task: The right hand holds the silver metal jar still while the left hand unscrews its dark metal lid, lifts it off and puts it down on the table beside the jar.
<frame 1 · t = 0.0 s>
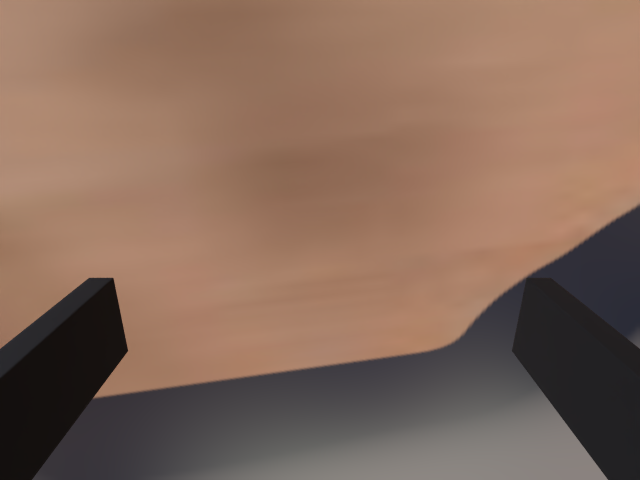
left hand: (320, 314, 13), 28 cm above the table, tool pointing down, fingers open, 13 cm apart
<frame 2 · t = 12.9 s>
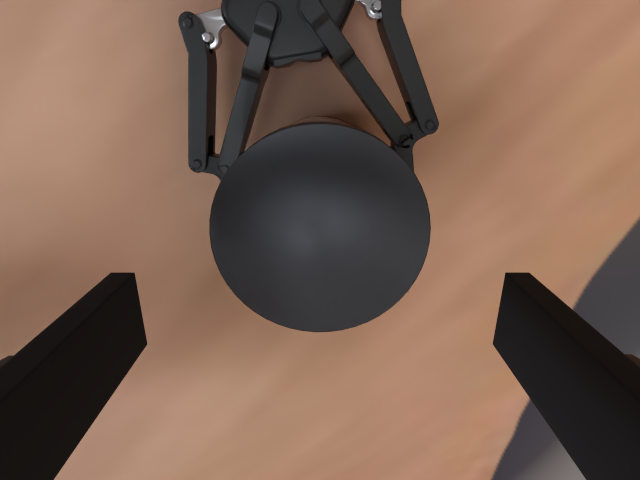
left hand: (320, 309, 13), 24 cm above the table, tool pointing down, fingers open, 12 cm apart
right hand: (329, 244, 31), fingers closed on jar, 10 cm apart
lid: (319, 235, 20), point 16 cm above the table, screwed on, not yet turned
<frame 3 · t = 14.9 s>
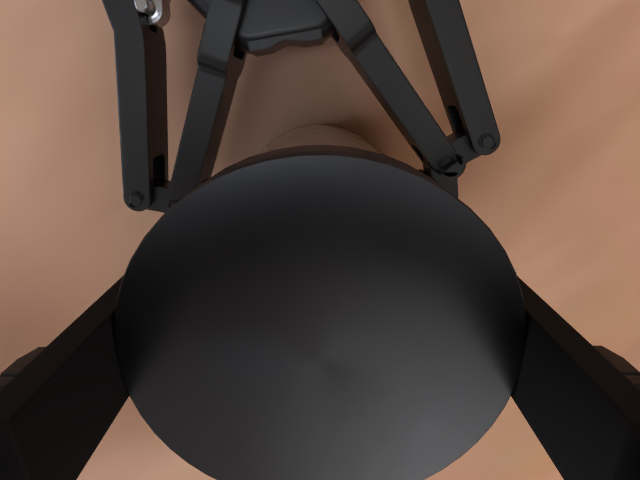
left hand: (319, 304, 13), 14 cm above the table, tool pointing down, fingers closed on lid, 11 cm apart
lid: (320, 352, 11), point 16 cm above the table, screwed on, not yet turned, touching left hand
jar: (319, 201, 26), on the table, touching right hand
when the left hand's fingers open (14 cm above the table, at t = 16.4 s): lid stays where it is, point 17 cm above the table.
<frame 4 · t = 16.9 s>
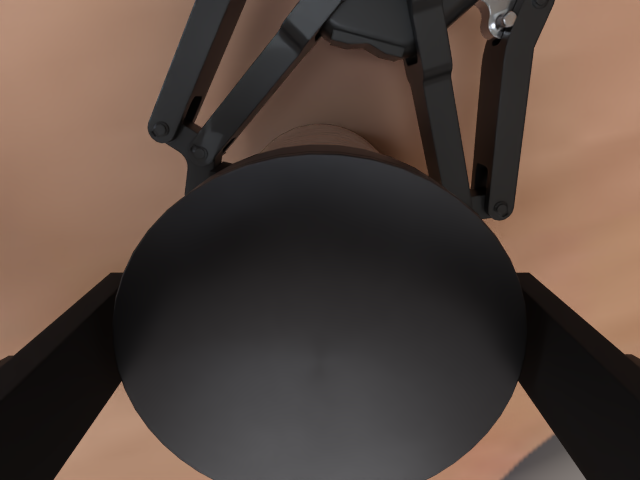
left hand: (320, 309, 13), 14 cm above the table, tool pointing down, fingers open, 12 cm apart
lid: (319, 353, 11), point 17 cm above the table, turned 95° so far, risen 0.3 cm, still on its thread
jar: (319, 199, 27), on the table, touching right hand
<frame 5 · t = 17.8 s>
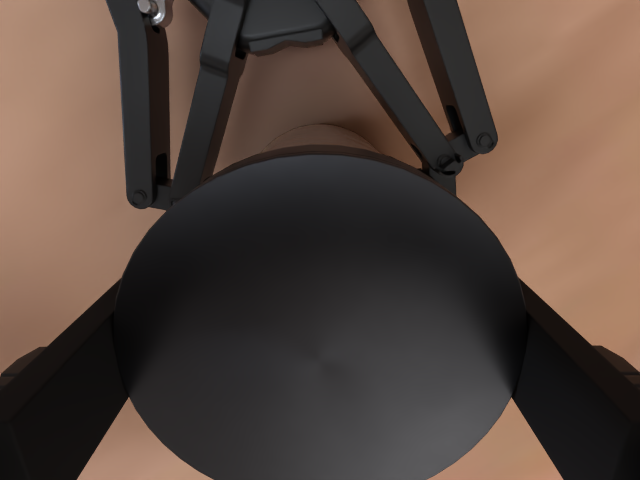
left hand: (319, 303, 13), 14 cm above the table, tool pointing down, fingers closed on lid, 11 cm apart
lid: (320, 352, 11), point 17 cm above the table, turned 95° so far, risen 0.3 cm, still on its thread, touching left hand
jar: (320, 199, 27), on the table, touching right hand
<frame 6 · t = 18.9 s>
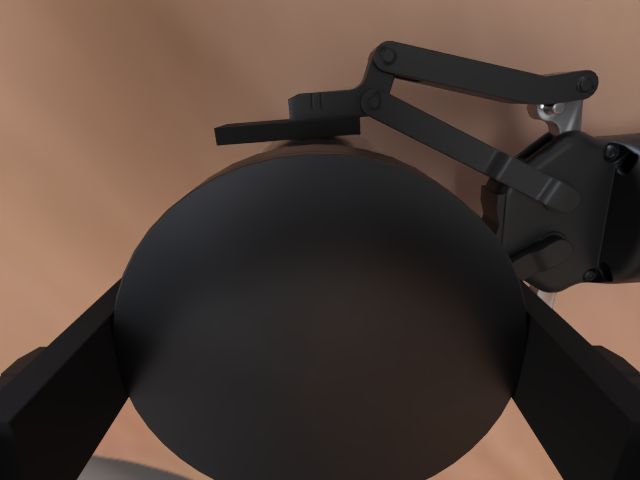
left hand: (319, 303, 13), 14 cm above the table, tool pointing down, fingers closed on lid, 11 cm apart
right hand: (238, 236, 21), fingers closed on jar, 10 cm apart
lid: (320, 352, 11), point 17 cm above the table, off its thread, touching left hand
jar: (320, 199, 27), on the table, touching right hand
when the left hand's fingers open (0 cm above the table, at t = 24.3 s): lid drops 2 cm, point 1 cm above the table.
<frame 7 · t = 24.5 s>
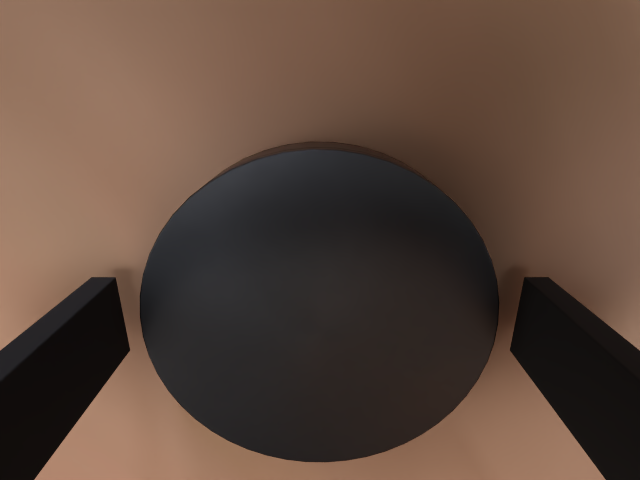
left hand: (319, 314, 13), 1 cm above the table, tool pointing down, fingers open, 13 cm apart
lid: (319, 324, 12), point 1 cm above the table, off its thread
when the right hand's fingers open (7 cm above the table, at t = 25.3 s): jar stays where it is, on the table.
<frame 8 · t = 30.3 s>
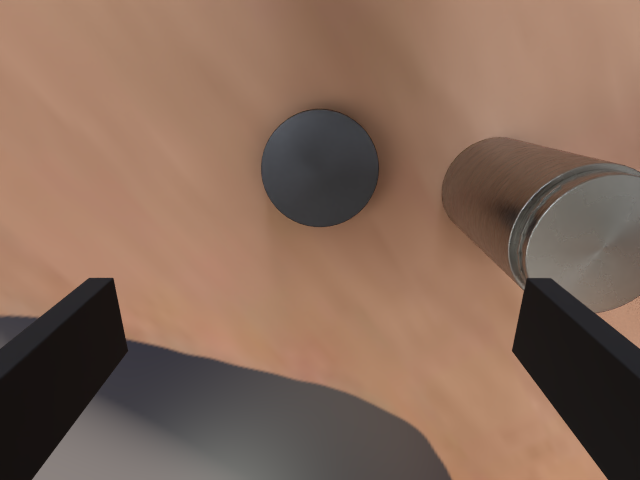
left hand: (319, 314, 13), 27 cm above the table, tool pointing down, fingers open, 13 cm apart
lid: (319, 170, 37), point 1 cm above the table, off its thread
jar: (491, 188, 39), on the table
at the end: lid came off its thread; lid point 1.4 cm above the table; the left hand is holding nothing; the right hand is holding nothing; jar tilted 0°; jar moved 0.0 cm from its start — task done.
